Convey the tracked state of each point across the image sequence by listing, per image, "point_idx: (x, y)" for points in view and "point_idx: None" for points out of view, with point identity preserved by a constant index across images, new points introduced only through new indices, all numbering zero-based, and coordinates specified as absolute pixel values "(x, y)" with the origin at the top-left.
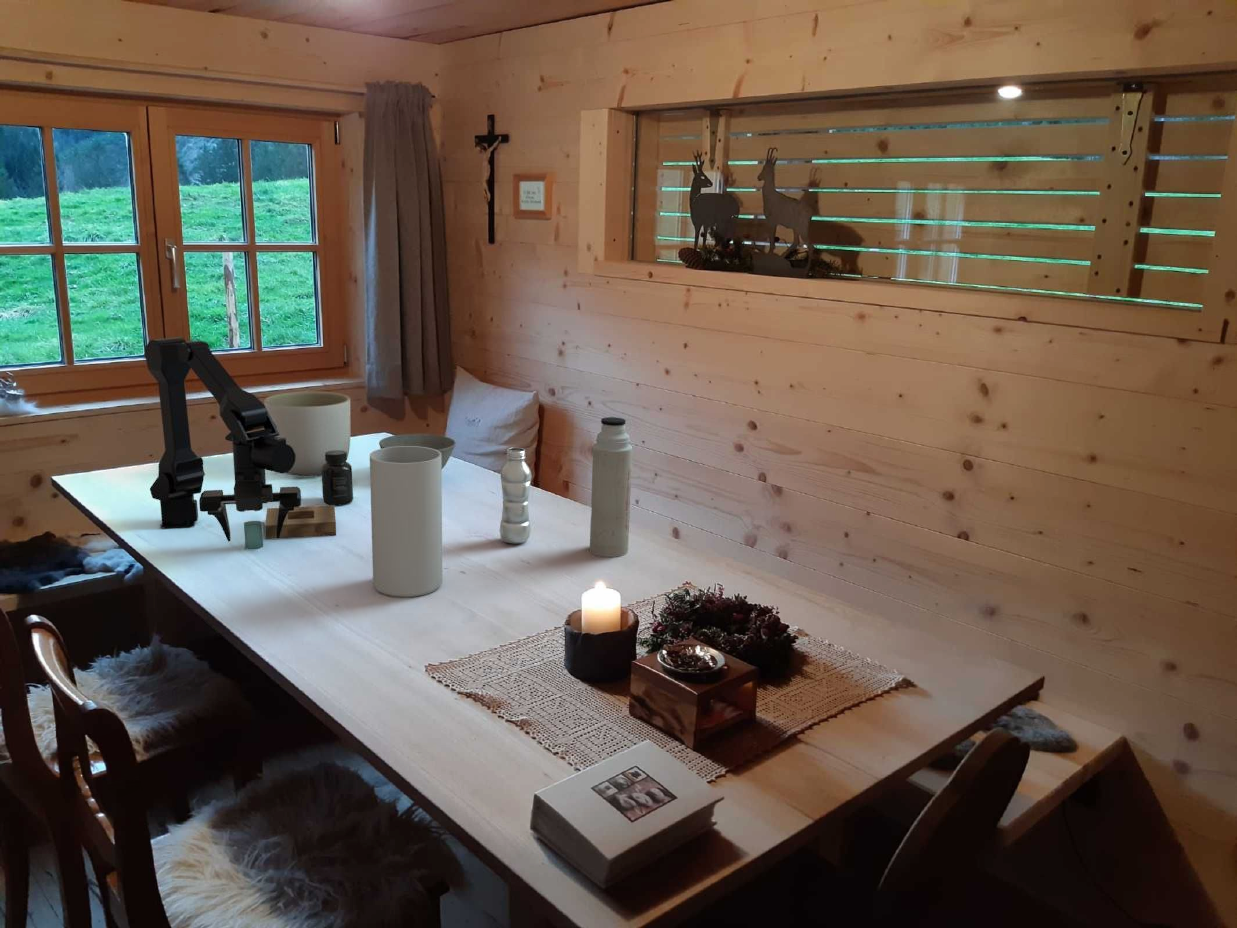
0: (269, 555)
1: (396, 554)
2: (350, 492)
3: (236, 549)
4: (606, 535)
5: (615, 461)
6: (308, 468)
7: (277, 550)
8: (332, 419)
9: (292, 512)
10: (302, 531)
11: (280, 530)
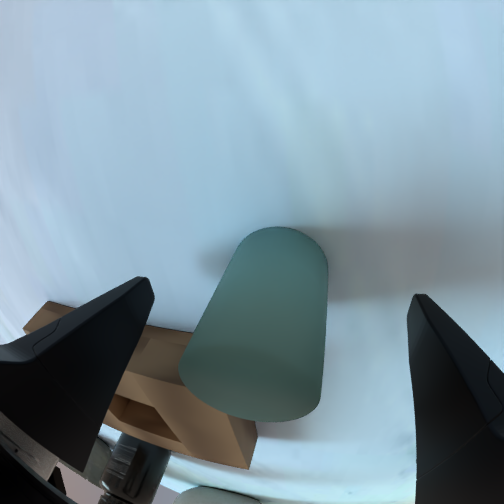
0: (172, 111)
1: None
2: (115, 445)
3: (376, 249)
4: None
5: None
6: (218, 501)
7: (150, 190)
8: None
9: (170, 436)
10: None
11: (99, 297)
